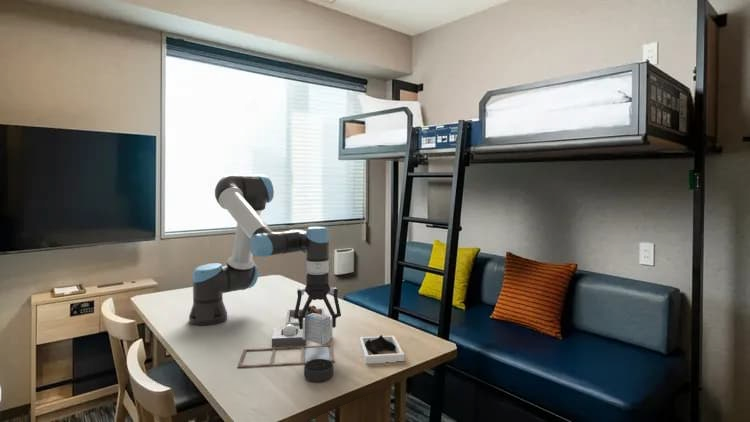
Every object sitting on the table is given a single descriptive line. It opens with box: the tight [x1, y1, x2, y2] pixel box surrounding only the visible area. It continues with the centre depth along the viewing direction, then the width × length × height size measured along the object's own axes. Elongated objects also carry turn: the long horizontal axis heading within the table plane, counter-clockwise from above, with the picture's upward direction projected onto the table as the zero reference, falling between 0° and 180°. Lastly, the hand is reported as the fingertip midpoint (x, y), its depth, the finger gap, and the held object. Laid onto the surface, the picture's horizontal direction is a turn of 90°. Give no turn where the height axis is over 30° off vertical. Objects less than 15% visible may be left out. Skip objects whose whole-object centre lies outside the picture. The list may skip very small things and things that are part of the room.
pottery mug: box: [297, 305, 320, 322], centre depth 177 cm, size 12×10×8 cm
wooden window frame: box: [237, 344, 336, 369], centre depth 143 cm, size 31×14×1 cm, turn 99°
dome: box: [283, 324, 296, 335], centre depth 157 cm, size 5×5×6 cm
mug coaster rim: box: [285, 307, 326, 326], centre depth 178 cm, size 16×18×2 cm
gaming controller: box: [365, 334, 395, 355], centre depth 147 cm, size 11×4×7 cm
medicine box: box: [305, 313, 331, 345], centre depth 144 cm, size 8×4×9 cm, turn 58°
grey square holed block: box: [271, 326, 307, 348], centre depth 158 cm, size 12×12×3 cm
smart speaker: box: [303, 359, 334, 383], centre depth 129 cm, size 9×9×4 cm
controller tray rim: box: [358, 335, 405, 365], centre depth 147 cm, size 13×17×2 cm
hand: (317, 337), depth 144 cm, fingers closed on medicine box, 9 cm apart
